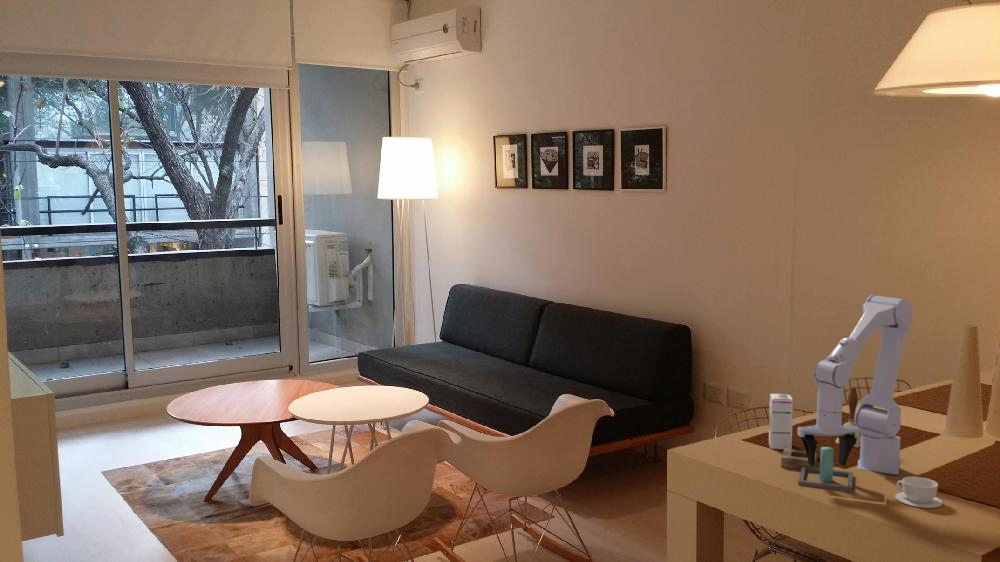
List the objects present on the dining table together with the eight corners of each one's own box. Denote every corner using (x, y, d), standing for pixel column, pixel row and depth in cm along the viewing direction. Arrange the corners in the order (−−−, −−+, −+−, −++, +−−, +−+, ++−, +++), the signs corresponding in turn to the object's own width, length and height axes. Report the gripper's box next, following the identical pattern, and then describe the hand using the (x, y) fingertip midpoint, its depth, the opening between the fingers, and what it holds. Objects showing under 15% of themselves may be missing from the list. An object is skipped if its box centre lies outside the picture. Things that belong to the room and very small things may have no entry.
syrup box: (792, 451, 240) (794, 399, 238) (769, 450, 241) (771, 398, 239) (789, 445, 245) (791, 394, 243) (767, 444, 246) (769, 392, 245)
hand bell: (829, 443, 247) (832, 387, 246) (844, 437, 253) (847, 382, 251) (858, 450, 241) (861, 392, 239) (872, 444, 247) (875, 388, 245)
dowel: (828, 478, 218) (830, 446, 217) (834, 482, 215) (836, 450, 214) (817, 478, 217) (818, 446, 216) (822, 482, 214) (824, 450, 213)
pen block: (816, 463, 230) (816, 452, 230) (814, 472, 223) (814, 461, 222) (783, 459, 233) (784, 448, 233) (781, 468, 226) (781, 457, 225)
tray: (852, 477, 219) (853, 472, 219) (851, 493, 208) (852, 488, 208) (801, 471, 224) (801, 465, 224) (798, 486, 213) (798, 481, 213)
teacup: (948, 501, 204) (950, 481, 204) (934, 513, 197) (936, 493, 197) (903, 490, 211) (904, 471, 211) (888, 501, 204) (889, 482, 203)
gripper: (851, 405, 218) (848, 458, 220) (793, 406, 217) (791, 459, 219) (864, 413, 211) (861, 468, 213) (804, 413, 210) (802, 469, 212)
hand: (826, 464), depth 216 cm, fingers open, 7 cm apart
